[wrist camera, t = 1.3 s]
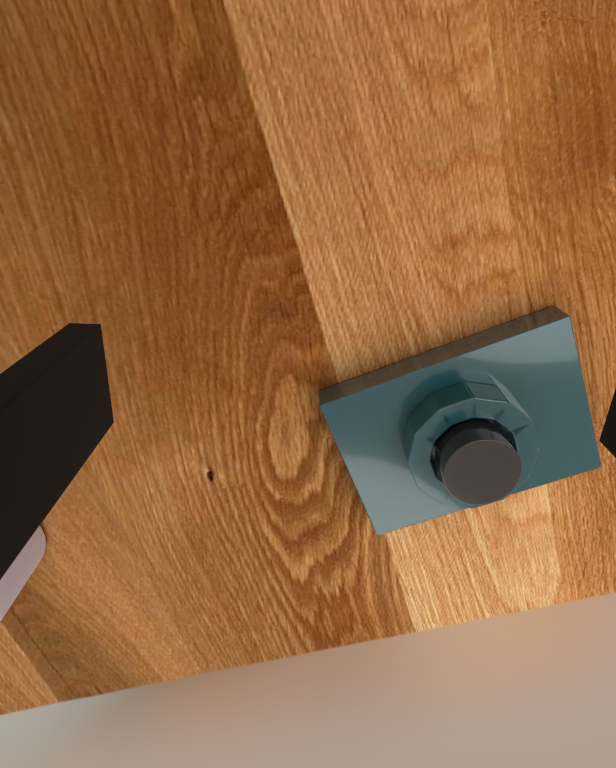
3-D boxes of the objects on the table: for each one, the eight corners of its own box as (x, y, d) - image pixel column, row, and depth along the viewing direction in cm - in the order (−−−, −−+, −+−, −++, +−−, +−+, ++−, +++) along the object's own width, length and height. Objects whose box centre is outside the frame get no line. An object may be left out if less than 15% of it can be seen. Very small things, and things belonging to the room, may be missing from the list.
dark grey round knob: (498, 409, 28) (512, 428, 26) (515, 469, 29) (529, 491, 27) (425, 434, 28) (433, 454, 26) (446, 490, 30) (455, 514, 28)
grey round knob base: (554, 305, 29) (588, 328, 25) (585, 449, 33) (619, 487, 29) (318, 390, 31) (319, 423, 28) (373, 515, 35) (380, 558, 31)
